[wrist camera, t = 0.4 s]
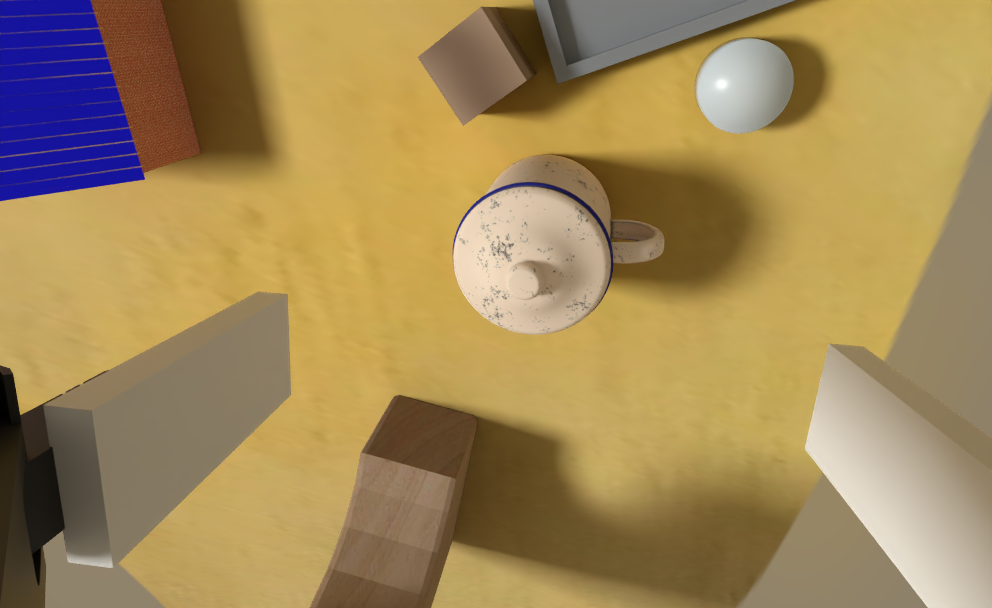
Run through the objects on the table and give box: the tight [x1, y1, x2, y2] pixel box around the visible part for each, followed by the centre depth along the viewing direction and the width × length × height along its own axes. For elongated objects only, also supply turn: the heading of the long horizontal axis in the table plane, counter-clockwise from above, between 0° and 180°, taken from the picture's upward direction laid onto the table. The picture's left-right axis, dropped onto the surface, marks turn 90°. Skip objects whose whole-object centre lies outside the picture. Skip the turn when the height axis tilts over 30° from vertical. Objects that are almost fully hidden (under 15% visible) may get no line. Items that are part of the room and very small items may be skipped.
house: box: [0, 0, 201, 201], centre depth 36 cm, size 12×20×12 cm, turn 3°
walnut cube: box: [418, 7, 536, 126], centre depth 36 cm, size 4×4×4 cm
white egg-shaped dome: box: [695, 37, 794, 133], centre depth 35 cm, size 5×5×2 cm
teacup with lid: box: [453, 155, 665, 335], centre depth 36 cm, size 12×9×12 cm
